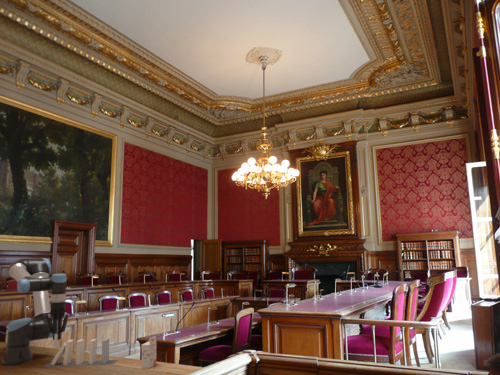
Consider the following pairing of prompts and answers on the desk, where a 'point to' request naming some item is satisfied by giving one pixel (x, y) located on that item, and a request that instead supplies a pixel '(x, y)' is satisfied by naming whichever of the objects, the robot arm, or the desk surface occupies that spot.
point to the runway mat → (73, 363)
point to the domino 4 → (92, 351)
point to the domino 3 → (80, 352)
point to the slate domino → (105, 350)
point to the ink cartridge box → (149, 353)
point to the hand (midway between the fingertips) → (56, 345)
